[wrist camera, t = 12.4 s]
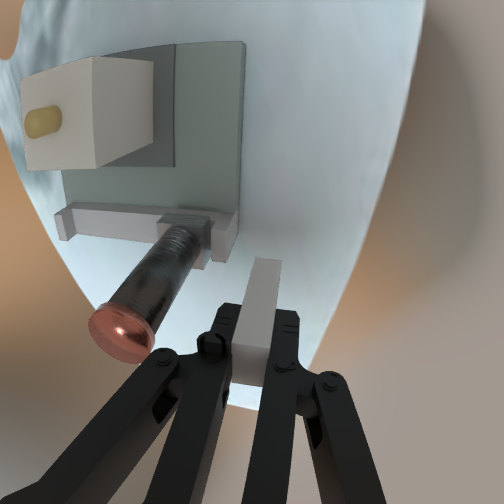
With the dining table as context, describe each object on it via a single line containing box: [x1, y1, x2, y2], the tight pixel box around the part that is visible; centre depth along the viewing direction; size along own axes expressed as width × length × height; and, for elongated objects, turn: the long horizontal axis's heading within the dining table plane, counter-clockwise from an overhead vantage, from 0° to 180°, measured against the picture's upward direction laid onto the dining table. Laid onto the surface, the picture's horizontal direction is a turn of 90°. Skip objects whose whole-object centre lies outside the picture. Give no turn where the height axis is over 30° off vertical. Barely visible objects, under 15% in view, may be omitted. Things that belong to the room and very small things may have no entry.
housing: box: [21, 56, 154, 171], centre depth 15 cm, size 6×6×9 cm
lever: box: [88, 212, 211, 364], centre depth 17 cm, size 3×3×11 cm
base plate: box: [54, 41, 246, 263], centre depth 20 cm, size 15×16×4 cm
